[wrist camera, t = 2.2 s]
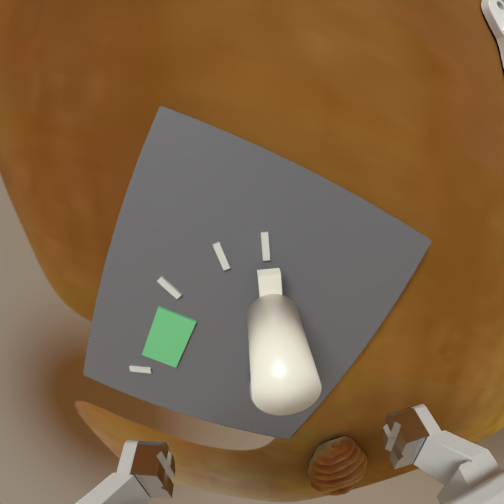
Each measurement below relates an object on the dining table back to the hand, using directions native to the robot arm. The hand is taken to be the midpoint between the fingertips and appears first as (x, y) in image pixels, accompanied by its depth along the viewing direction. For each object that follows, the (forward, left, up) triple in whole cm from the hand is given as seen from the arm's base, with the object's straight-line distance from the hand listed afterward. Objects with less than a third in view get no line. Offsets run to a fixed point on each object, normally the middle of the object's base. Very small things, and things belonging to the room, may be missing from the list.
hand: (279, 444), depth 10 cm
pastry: (+16, +17, -12) cm, 26 cm away
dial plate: (+2, -1, -11) cm, 11 cm away
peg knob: (+2, +2, -10) cm, 10 cm away
